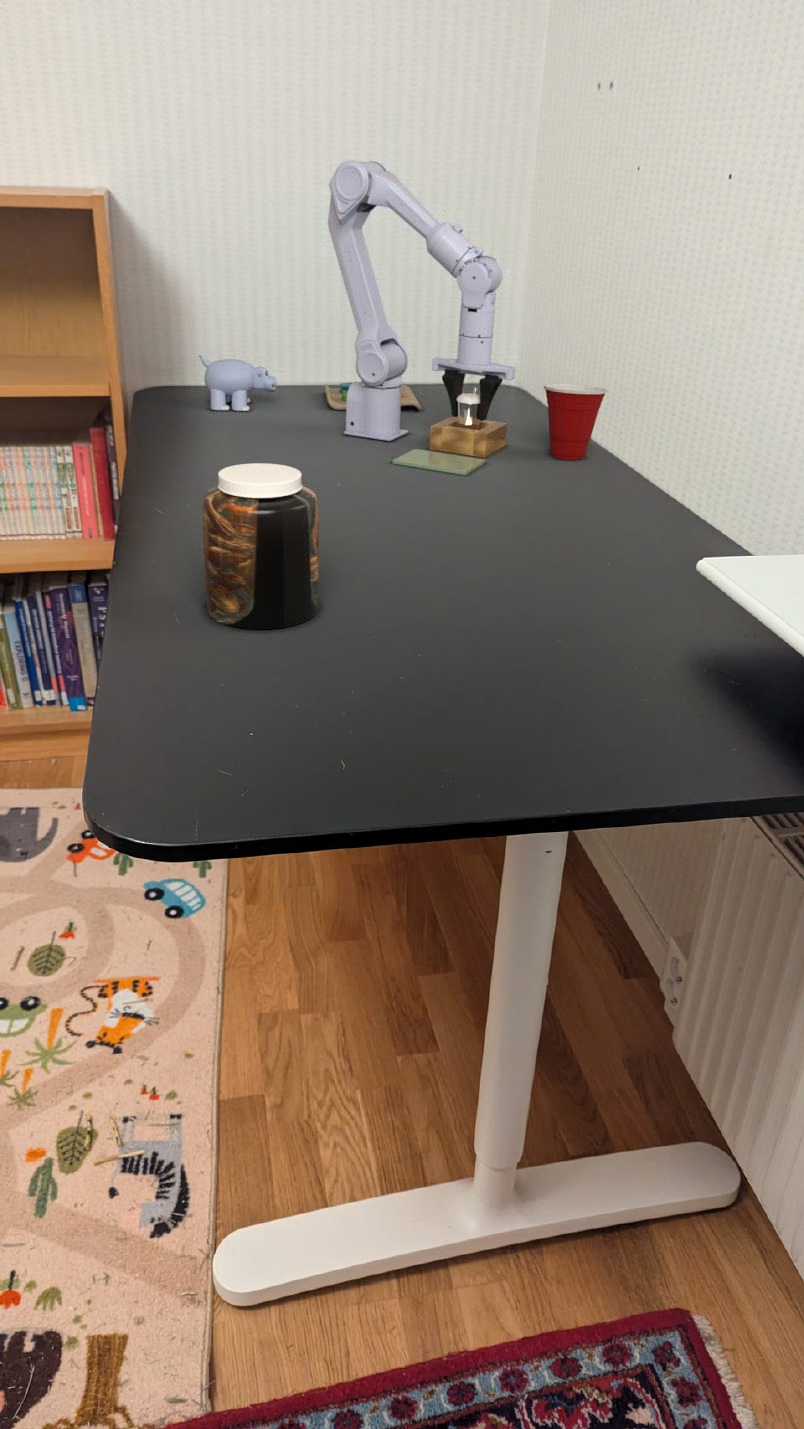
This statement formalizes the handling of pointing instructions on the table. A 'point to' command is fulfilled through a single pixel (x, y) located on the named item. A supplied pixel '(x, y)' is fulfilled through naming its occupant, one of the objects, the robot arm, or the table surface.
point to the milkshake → (468, 410)
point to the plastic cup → (572, 418)
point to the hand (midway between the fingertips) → (469, 418)
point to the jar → (261, 547)
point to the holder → (467, 437)
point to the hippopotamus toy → (234, 382)
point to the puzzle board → (339, 396)
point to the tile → (439, 461)
